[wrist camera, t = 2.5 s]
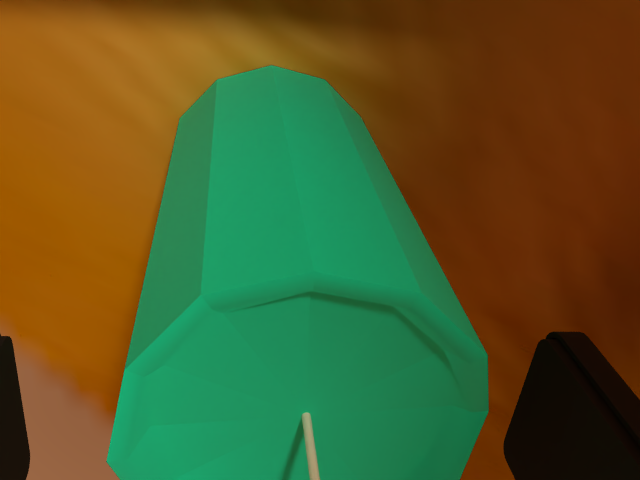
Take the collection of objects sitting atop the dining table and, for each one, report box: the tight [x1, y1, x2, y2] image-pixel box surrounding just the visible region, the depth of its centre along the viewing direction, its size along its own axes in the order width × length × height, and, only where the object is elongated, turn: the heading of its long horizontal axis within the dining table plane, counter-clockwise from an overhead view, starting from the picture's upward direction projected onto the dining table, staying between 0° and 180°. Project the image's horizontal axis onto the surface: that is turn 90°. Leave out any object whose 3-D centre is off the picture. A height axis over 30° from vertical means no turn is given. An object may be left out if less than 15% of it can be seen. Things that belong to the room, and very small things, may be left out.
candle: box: [106, 65, 489, 480], centre depth 13 cm, size 6×6×12 cm
